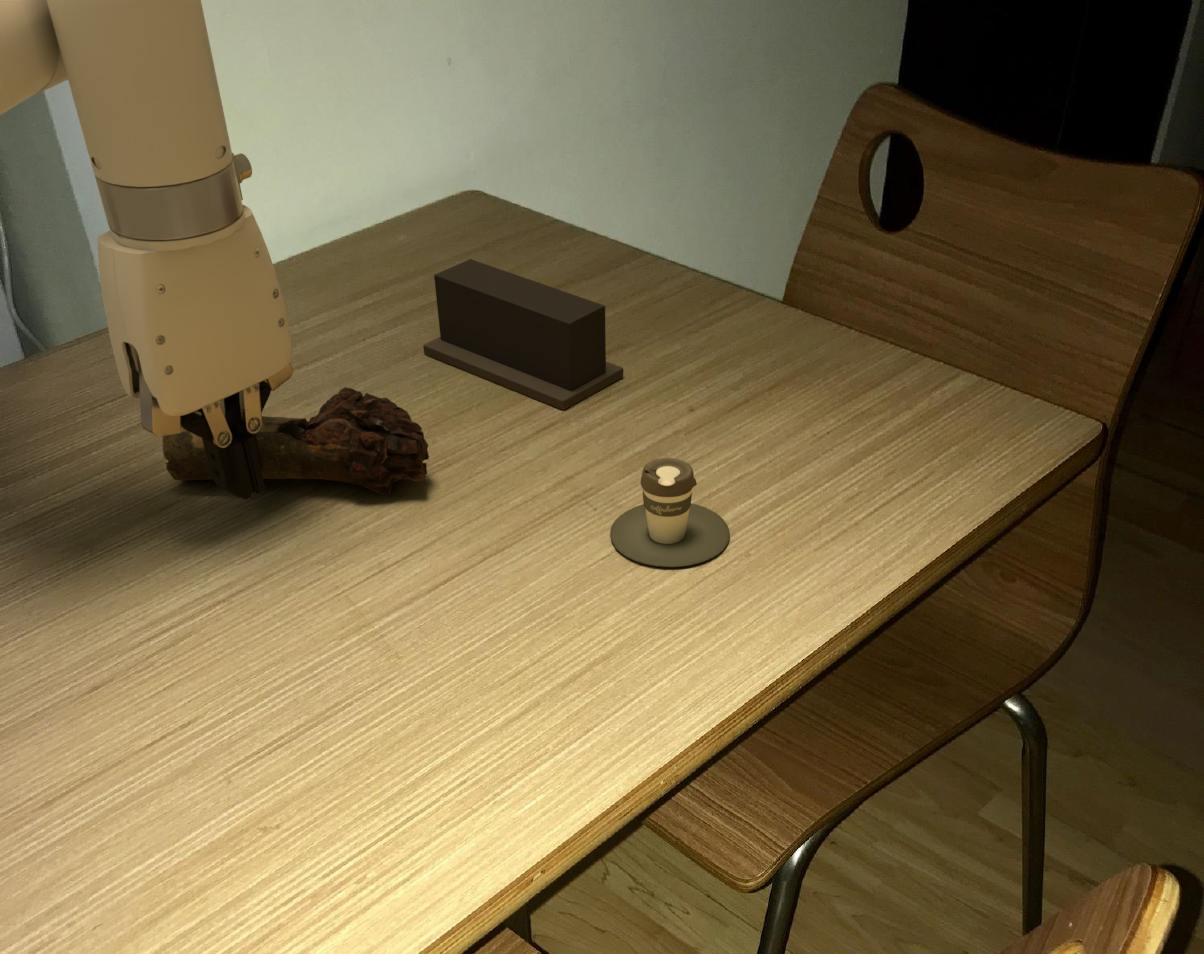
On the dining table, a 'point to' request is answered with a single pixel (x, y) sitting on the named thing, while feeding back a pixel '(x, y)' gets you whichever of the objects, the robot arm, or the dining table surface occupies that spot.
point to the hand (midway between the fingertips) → (241, 488)
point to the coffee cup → (669, 521)
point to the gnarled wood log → (325, 445)
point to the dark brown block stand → (521, 334)
